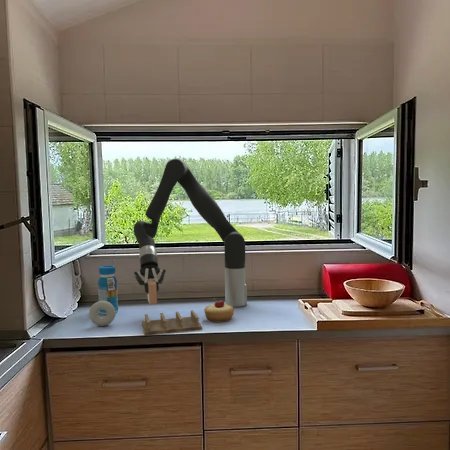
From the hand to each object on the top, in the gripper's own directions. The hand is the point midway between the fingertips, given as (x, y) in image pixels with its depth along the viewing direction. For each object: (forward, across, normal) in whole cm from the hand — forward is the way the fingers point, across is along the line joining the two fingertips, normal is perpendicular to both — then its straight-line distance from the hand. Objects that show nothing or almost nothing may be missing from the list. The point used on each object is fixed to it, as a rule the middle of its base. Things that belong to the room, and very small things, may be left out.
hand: (152, 291), depth 168 cm
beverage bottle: (-4, -18, +19) cm, 27 cm away
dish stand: (+17, +6, -1) cm, 18 cm away
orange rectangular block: (+2, 0, +4) cm, 4 cm away
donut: (+10, -20, +5) cm, 23 cm away
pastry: (+15, +26, +2) cm, 30 cm away
